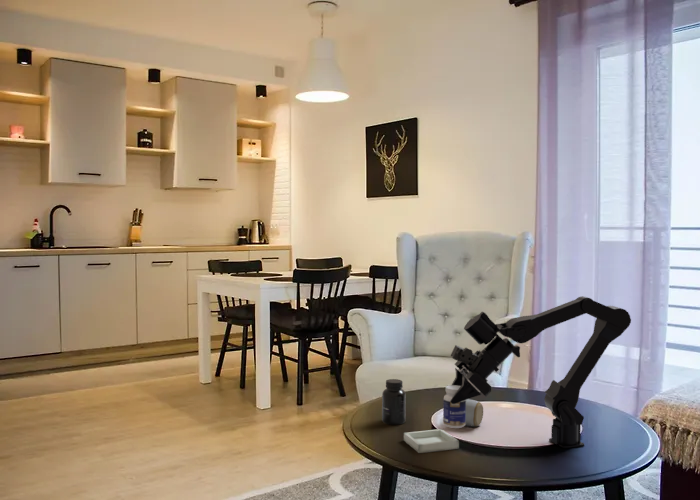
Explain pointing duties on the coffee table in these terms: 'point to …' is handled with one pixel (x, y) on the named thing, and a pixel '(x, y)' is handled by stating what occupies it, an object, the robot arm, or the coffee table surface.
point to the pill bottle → (453, 409)
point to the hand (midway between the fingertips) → (449, 399)
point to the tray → (431, 441)
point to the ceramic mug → (473, 413)
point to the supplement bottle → (393, 403)
